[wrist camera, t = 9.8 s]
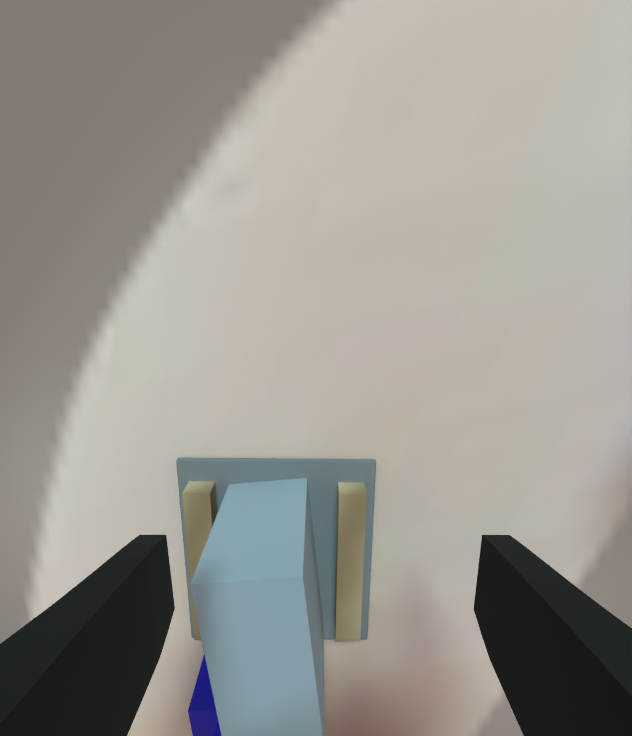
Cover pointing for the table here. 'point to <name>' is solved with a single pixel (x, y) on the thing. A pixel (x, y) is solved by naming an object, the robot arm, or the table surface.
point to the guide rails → (348, 548)
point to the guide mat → (322, 504)
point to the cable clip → (203, 706)
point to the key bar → (263, 612)
